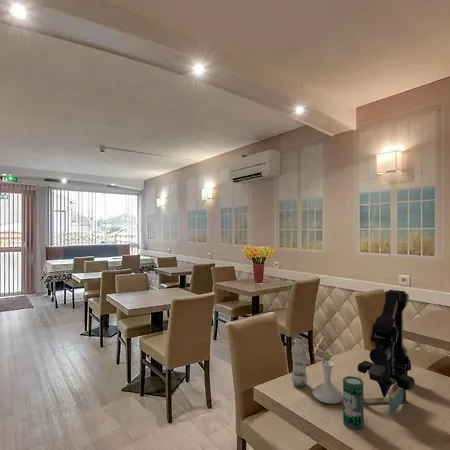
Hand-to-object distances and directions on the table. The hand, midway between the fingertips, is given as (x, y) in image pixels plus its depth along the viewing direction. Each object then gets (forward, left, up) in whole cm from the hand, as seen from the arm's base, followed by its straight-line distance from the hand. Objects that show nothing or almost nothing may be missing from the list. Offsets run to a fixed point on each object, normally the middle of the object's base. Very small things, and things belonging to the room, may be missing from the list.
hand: (384, 396), depth 119 cm
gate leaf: (-3, +3, -2) cm, 5 cm away
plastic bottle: (+27, -18, -4) cm, 33 cm away
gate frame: (-1, -3, -4) cm, 5 cm away
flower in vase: (+20, -6, -4) cm, 21 cm away
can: (+17, +10, -4) cm, 20 cm away
